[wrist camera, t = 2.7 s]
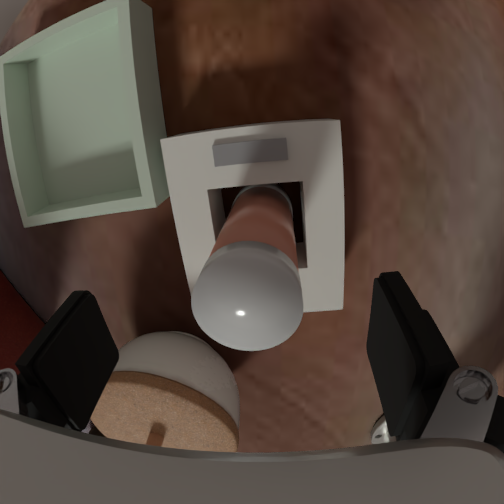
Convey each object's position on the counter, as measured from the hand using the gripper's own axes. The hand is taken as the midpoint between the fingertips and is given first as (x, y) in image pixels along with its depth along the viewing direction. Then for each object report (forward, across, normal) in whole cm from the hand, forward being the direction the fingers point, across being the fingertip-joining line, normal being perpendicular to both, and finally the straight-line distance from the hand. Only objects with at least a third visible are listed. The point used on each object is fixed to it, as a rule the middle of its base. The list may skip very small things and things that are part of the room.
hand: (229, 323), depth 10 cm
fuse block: (+14, 0, +1) cm, 14 cm away
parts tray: (+14, +12, -8) cm, 20 cm away
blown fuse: (+14, 0, +1) cm, 14 cm away
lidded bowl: (+14, +8, +15) cm, 22 cm away
